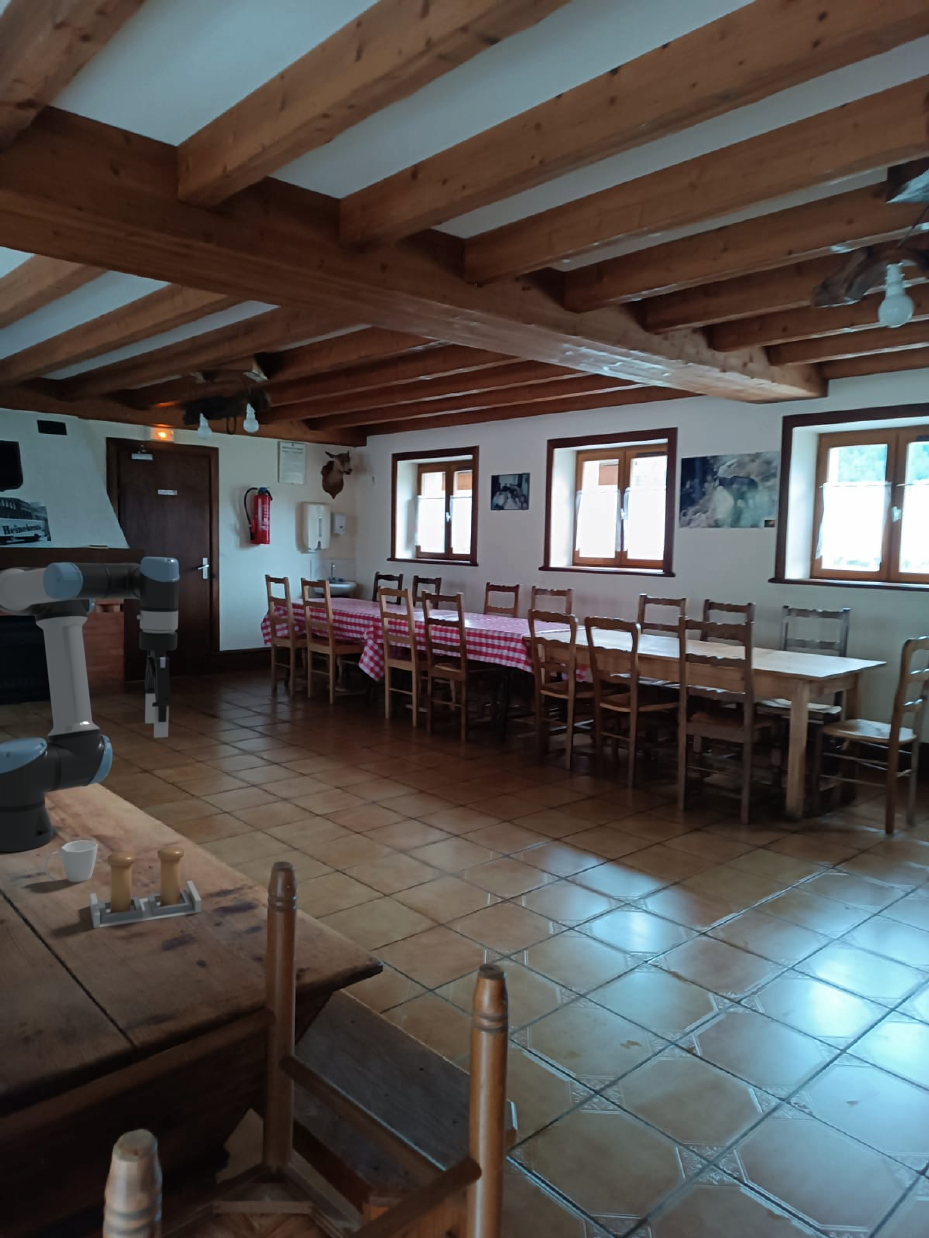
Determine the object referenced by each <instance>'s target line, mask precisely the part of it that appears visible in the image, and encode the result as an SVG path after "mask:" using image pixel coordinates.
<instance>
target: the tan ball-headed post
mask: <svg viewBox="0 0 929 1238" xmlns="http://www.w3.org/2000/svg"><path fill="white" fill-rule="evenodd" d="M184 851H185V850H184V848H183V847H180V846H165V847H162V848H159V849H158V850H157V858H158V860H160V881H159V882H160V883H159V884H160V888H159V893H160V907H161V906H168V905H175V904H180V891H181V890H180V888H181V859H182V858H183V857H185V855H184V853H185V852H184Z"/></svg>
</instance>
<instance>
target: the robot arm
mask: <svg viewBox="0 0 929 1238" xmlns="http://www.w3.org/2000/svg"><path fill="white" fill-rule="evenodd" d="M140 561H141V563H140V564H139V563H135V562H122V563H104V562H103V563H102V562H101V563H93V562H92V563H91V562H90V563H89V562H88V563H87V562H71V561H70V562H69V561H63V562H52V563H50V564H48V565H47V567H29V566H28V567H26V566H20V567H18V566H17V567H16V566H15V567H9V568H6V569H2V570H0V611H1V612H3V613H6V614H10V615H15V616H34V618H35V624H36V625H37V626H38V627H39V628H40V629H42V631H43V637H44V645H45V646H44V647H45V657H46V665H47V675H48V683H49V695H50V702H51V713H52V722H53V728H52V729H51V731H50V732H48V734H47V741H46V739H44V738H42V737H38V736H37V737H36V736H30V737H21V738H20V737H19V738H14V739H10V740H7V741H5V742H2V743H0V853H12V852H13V853H15V852H23V851H28V850H33V849H37V848H39V847H43V846H45V845H47V844H48V843H50V842H51V841H52V840H53V838H54V826H53V824H52V821H51V818H50V816H49V813H48V810H47V806H46V793H47V794H48V793H50V792H51V793H52V792H57V791H62V790H68V789H75V788H79V787H81V788H82V787H88V786H89V785H94V784H98V783H100V782H102V781H103V780H105V779H106V778H107V776H108V774H109V772H110V770H111V767H112V763H113V747H112V743H111V741H110V739H109V737H108V736H106V735H104V734H101V729H100V727H99V725H96V724H95V723H94V722H93V718H92V709H91V708H92V707H91V700H90V691H89V681H88V671H87V663H86V654H85V644H84V637H83V625H84V624H86V622H87V620H88V614H90V613H91V612H92V611H94V608H95V602H96V599H97V600H110V599H111V600H113V599H114V600H115V599H116V600H121V599H123V600H124V599H125V600H126V599H129V600H130V599H132V600H134V599H135V600H139V605H140V606H139V610H140V611H139V612H140V614H137V615H136V619H137V620H139V628H140V629H141V631H139V639H138V641H139V643H138V644H139V645H138V646H139V647H138V648H139V649H141V650H144V651H146V653H147V655H146V668H145V677H144V684H143V686H144V689H145V690H144V691H145V703H144V704H145V711H144V713H145V714H144V723H145V724H153V738H158V739H159V738H168V737H169V721H170V720H169V717H170V716H169V715H170V712H169V711H170V706H171V704H172V700H171V684H170V683H171V681H170V658H169V656H167V654H166V652H167V651H174V650H176V649H177V648H178V632H176V630H178V627H179V610H178V608H179V594H180V593H179V592H180V591H179V588H180V587H179V584H180V577H181V575H180V574H179V572H180V571H179V561H178V560H177V558H174V557H162V556H144V557H143V558H142V559H141V560H140Z"/></svg>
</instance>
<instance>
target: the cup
mask: <svg viewBox="0 0 929 1238" xmlns="http://www.w3.org/2000/svg"><path fill="white" fill-rule="evenodd" d="M98 849H99V844H98V843H96V842H95V841H93V840H86V839H85V840H83V839H82V840H81V839H80V840H75V841H69V842H66V843H65V844H63V846H61V847H60V851H59V850H58V851H53V852H52V853H50V855H48V857H47V858H46V861H45V864H44V872H45V875H46V877H48V879H50V880H52V881H53V882H57V881H58V879H57V878H56V877H54V876H52V875H51V874H50V873H48V870H47V866H48V862H49V860H50V859H52V857H53V856H62V863H63V868H64V872H65V873H64V874H65V875H66V879H67V881H69V882H70V883H81V882H86V881H88V880H90V879H91V878H92V875H93V872H94V869H95V864H96V860H97V859H96V858H97V853H98Z"/></svg>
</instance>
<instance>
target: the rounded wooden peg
mask: <svg viewBox="0 0 929 1238" xmlns="http://www.w3.org/2000/svg"><path fill="white" fill-rule="evenodd" d="M135 862H136V854H135V853H133V852H129V851H119V852H113V853H112V854H109V855H108V856H107V865H108V866H110V898H109V900H110V914H111V913H118V912H125V911H131V897H132V869H133V868H132V865H133V864H134V863H135Z"/></svg>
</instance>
